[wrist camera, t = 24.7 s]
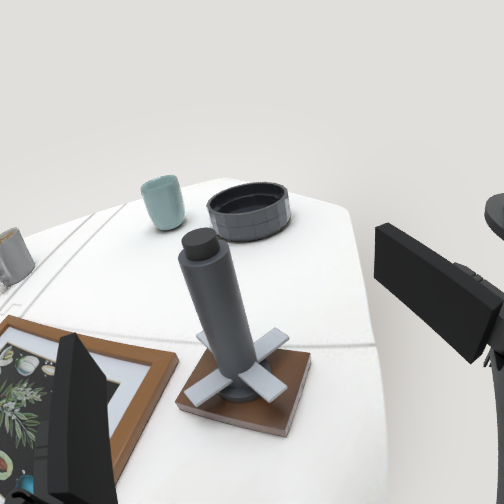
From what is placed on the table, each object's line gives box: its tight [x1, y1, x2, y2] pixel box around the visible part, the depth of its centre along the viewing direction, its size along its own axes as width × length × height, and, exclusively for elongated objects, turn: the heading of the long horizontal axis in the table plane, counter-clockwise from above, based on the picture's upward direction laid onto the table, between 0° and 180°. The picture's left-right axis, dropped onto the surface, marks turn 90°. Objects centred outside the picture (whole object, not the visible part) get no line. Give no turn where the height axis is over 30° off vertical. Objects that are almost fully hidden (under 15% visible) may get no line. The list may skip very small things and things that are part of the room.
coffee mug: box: [0, 227, 35, 286], centre depth 58 cm, size 13×10×10 cm
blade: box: [178, 228, 289, 407], centre depth 25 cm, size 11×11×16 cm
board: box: [175, 348, 311, 437], centre depth 30 cm, size 11×9×2 cm
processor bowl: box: [206, 182, 291, 242], centre depth 60 cm, size 15×15×6 cm
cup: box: [141, 175, 185, 230], centre depth 64 cm, size 8×8×10 cm
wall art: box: [0, 315, 179, 504], centre depth 28 cm, size 31×2×38 cm
